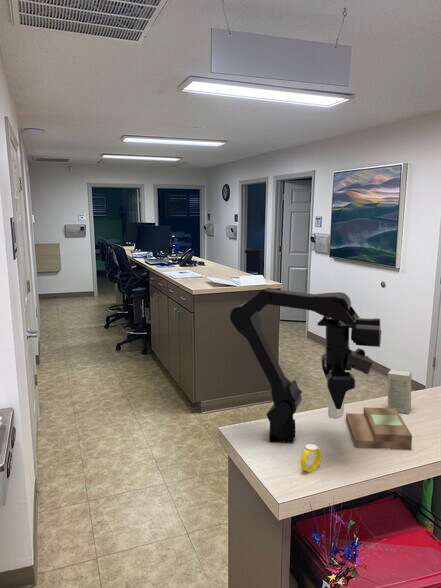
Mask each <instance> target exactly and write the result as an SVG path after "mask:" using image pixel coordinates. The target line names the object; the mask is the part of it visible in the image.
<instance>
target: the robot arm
mask: <svg viewBox="0 0 441 588" xmlns="http://www.w3.org/2000/svg"><path fill="white" fill-rule="evenodd" d="M268 305H270V306H276V307H277V306H278V307H285V308H292V309H299V310H307V311H312V312H315V313H316V314H318V315H320V316H323V317H322V319H320V320H319V321H318V322H317V326H319V327H325V343H324V350H325V353H324V354H323V355H322V356H321V357H320V360H321V361H320V362H321V363H320V364H321V368H322V371H323V374H324V377H325V379H326V387H327V389H328V393H329V392H330V394H331V397H332V399H333V402H334V404H335V407H336V409H341V406H342V403H343V400H344V401H345V396H346V393H347V392H349V391H351V390H353V389H355V388H356V380H355V378H354V375H353V374H352V373H351V372H352V369H354V370H357V371H359V372H362V373H363V374H365V375H369V373H370V371H371V368H372V367H373V365H374V362H373V360H372V358H371V357H369V356H368V355H366V352H365V350H364V349H362V348H359V347H358V348H357V349H356V350H355V351H354V350H353V351H352V350H351V348H350V339H351V342H353V344H355V345H356V346H360V347H361V346H362V347H364V346H365V347H375V348H380V347H381V341H382V329H381V318H375V317H374V318H363V317H362V318H359V314H358V313H357V312H356V310H355V309H354V308H353V307H352V301H351V299H350V297H349V296H348V295H347V294H346V293H344V292H340V291H339V292H336V291H335V292H323V293H315V294H314V293H313V294H312V293H307V292H298V291H291V290H285V289H284V290H283V289H274V288H271V287H266V288H263V289H261V290H260V291H259V292H258V293H256V294H255V296H254V297H252V298H251V299H249V300H248V301H247V302H243V303H242V304H239V305H237V306H235V307H234V308H232V310H231V311H230V314H229V320H230V322H231V324H232V325H233V327H234V328H235V329H236V331H237V332H238V333H239V334H240V335H242V337H244V339H246V341H247V342H248V344H249V347H250V348H251V350H252V352H253V355H254V356H255V359H256V360H257V362H258V364H259V366H260V368H261V370H262V371H263V374H264V375H265V376H264V377H265V378H266V380H267V382H268V384H269V385H270V392H271V399H272V402H273V404H272V405H271V407H270V408H269V410H268V411H267V412H266V417H267V420H268V421H269V438H268V440H269V442H270V443H271V442H272V443H290V444H291V443H294V442H295V441H294V439H295V438H296V419H295V418H294V414H295V413H296V412H297V410H298V409H299V407H300V405H301V402H302V400H303V399H302V393H303V391H302V390H300V388H299V386H298V383H297V381H296V379H294V380H292V381H290V380H289V379H288V378H287V377H286V376H285V374H284V372H283V370H282V368H281V366H280V364H279V362H278V360H277V358H276V357H275V354H274V352H273V350H272V348H271V347H270V345H269V343H268V340H267V339H266V337H265V334H264V333H263V330H262V322H261V318H260V312H261V311H262V310H263V309H264V308H266V306H268ZM350 329H351V330H350ZM350 371H351V372H350Z"/></svg>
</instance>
